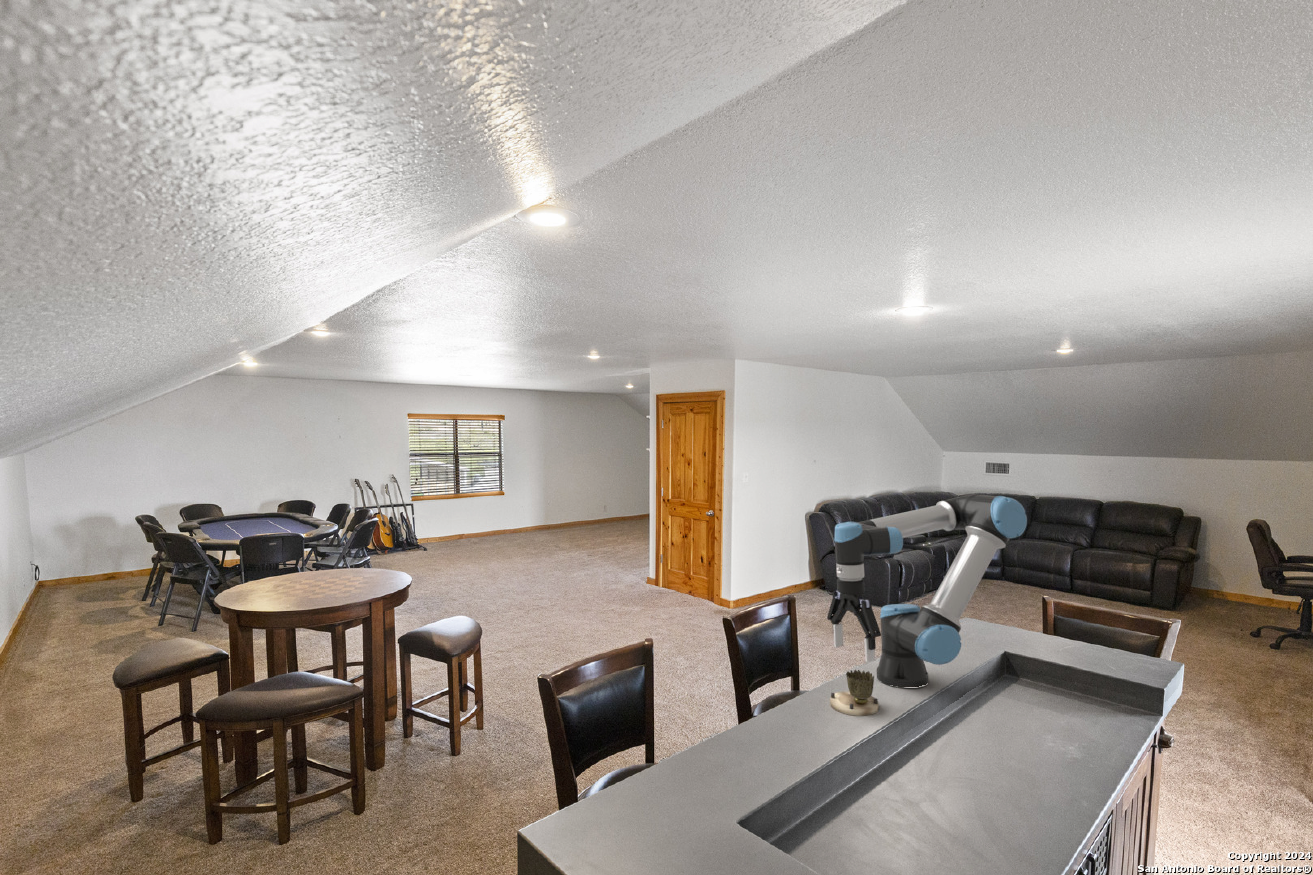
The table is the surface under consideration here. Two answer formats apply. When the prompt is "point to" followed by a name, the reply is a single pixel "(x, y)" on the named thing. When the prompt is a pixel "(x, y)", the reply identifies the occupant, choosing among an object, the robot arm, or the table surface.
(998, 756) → the table surface
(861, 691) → the ornate scalloped bell shade
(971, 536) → the robot arm
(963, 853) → the table surface
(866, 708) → the seat plate
